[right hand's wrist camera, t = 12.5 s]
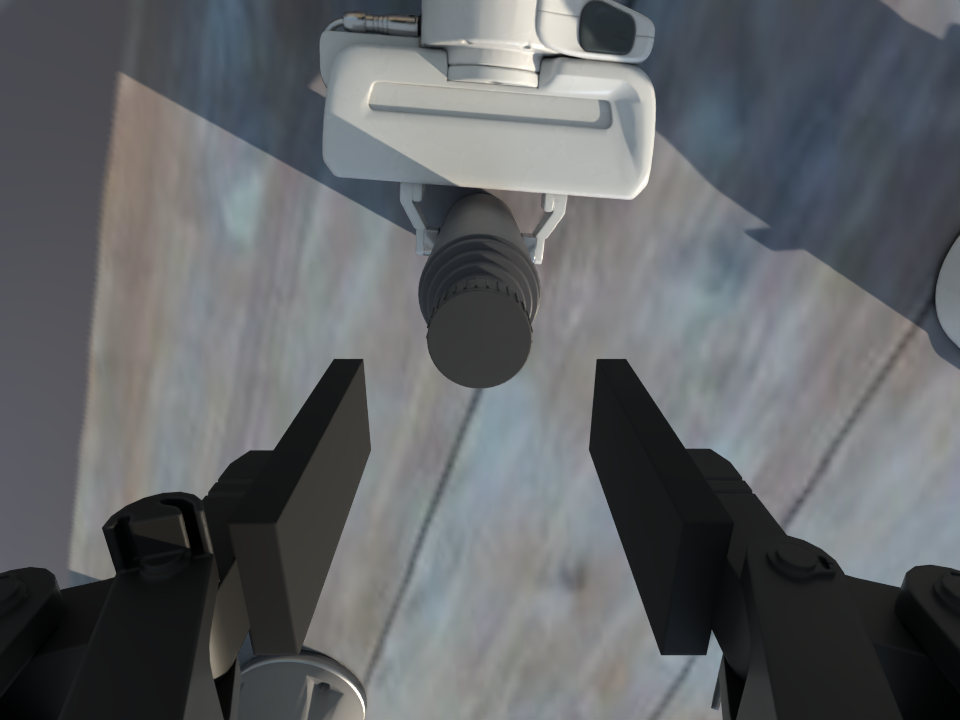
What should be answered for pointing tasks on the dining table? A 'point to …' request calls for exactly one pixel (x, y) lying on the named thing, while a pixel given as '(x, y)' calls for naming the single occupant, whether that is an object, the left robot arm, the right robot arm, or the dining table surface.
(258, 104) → the dining table surface
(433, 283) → the bottle
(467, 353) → the cap
